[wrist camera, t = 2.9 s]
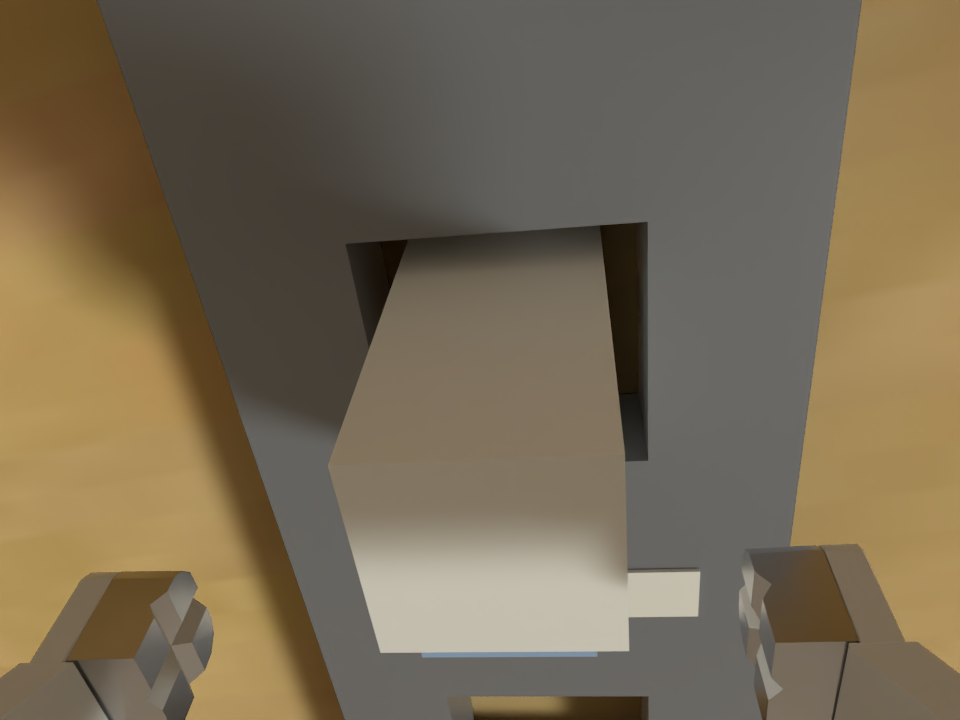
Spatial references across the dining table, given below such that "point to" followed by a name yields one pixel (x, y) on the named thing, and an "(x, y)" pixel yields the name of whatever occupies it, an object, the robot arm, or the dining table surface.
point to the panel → (508, 208)
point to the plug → (490, 452)
